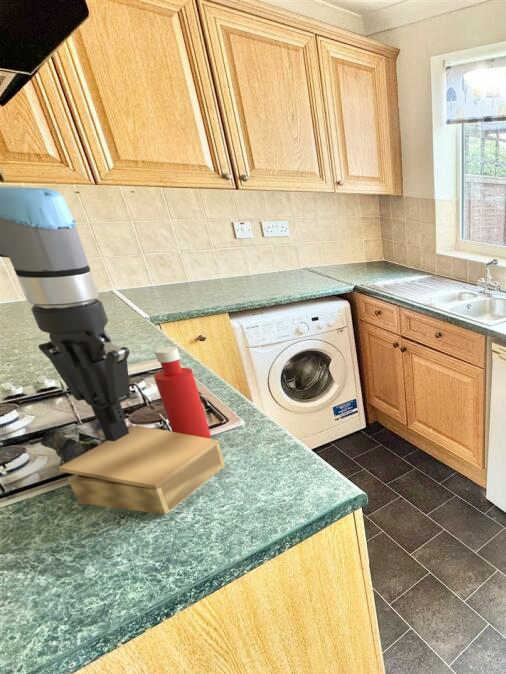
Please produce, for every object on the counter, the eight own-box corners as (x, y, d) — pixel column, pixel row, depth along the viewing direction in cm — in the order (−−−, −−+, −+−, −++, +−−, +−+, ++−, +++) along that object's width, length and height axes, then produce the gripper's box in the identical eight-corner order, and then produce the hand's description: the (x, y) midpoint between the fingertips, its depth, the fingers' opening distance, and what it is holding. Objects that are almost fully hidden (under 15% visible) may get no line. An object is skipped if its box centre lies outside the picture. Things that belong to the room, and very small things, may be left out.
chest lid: (59, 471, 67) (58, 467, 67) (137, 428, 80) (136, 425, 79) (156, 489, 67) (155, 485, 66) (219, 443, 79) (218, 440, 79)
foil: (108, 466, 75) (36, 415, 74) (106, 497, 80) (39, 450, 80) (171, 431, 85) (109, 386, 84) (166, 460, 90) (107, 418, 89)
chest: (80, 506, 70) (67, 479, 68) (152, 460, 83) (143, 435, 80) (167, 517, 69) (156, 489, 67) (226, 468, 81) (219, 443, 79)
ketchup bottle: (169, 448, 86) (137, 353, 78) (192, 433, 92) (164, 343, 83) (196, 451, 86) (167, 356, 77) (218, 436, 91) (193, 345, 83)
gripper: (130, 300, 65) (171, 429, 75) (53, 292, 66) (104, 421, 76) (80, 312, 58) (133, 453, 68) (-5, 303, 59) (59, 444, 69)
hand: (118, 436), depth 72 cm, fingers closed
